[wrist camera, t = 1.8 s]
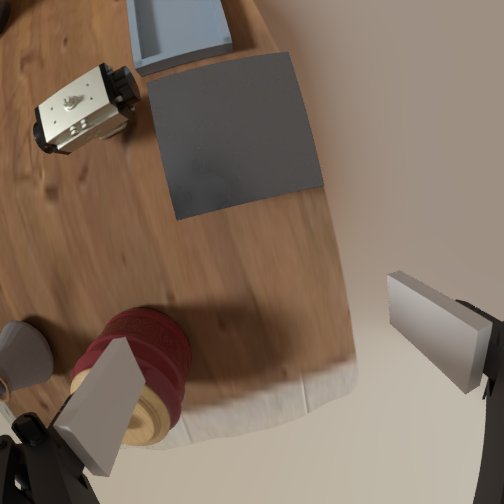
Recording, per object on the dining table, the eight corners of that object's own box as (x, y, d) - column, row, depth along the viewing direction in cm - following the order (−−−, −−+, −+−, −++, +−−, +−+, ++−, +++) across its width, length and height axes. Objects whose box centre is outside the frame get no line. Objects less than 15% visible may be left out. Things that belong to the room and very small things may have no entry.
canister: (204, 376, 40) (193, 471, 23) (127, 386, 40) (91, 468, 22) (175, 296, 37) (138, 376, 20) (93, 313, 37) (28, 382, 19)
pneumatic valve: (71, 130, 31) (18, 114, 19) (146, 88, 31) (113, 50, 19) (82, 165, 32) (28, 160, 21) (159, 124, 32) (127, 96, 21)
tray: (130, -8, 27) (125, -18, 24) (208, -29, 27) (207, -40, 24) (141, 76, 31) (134, 68, 28) (232, 52, 31) (232, 42, 28)
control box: (179, 121, 32) (145, 80, 18) (265, 101, 32) (287, 49, 18) (199, 208, 35) (177, 222, 20) (286, 187, 35) (324, 186, 20)
